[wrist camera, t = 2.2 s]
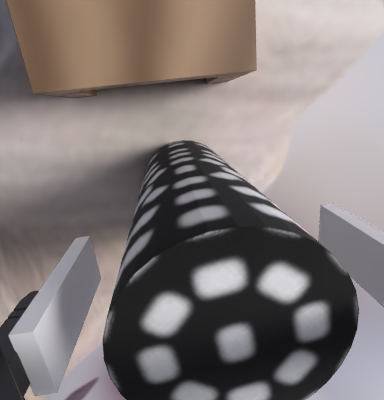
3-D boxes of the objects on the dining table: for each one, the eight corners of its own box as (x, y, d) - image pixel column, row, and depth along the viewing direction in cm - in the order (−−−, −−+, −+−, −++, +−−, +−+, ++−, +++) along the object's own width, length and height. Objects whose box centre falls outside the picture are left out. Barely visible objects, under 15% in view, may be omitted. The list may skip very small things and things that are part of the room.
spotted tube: (133, 152, 26) (57, 272, 7) (216, 131, 26) (356, 192, 7) (157, 227, 29) (148, 454, 10) (231, 207, 29) (361, 393, 10)
